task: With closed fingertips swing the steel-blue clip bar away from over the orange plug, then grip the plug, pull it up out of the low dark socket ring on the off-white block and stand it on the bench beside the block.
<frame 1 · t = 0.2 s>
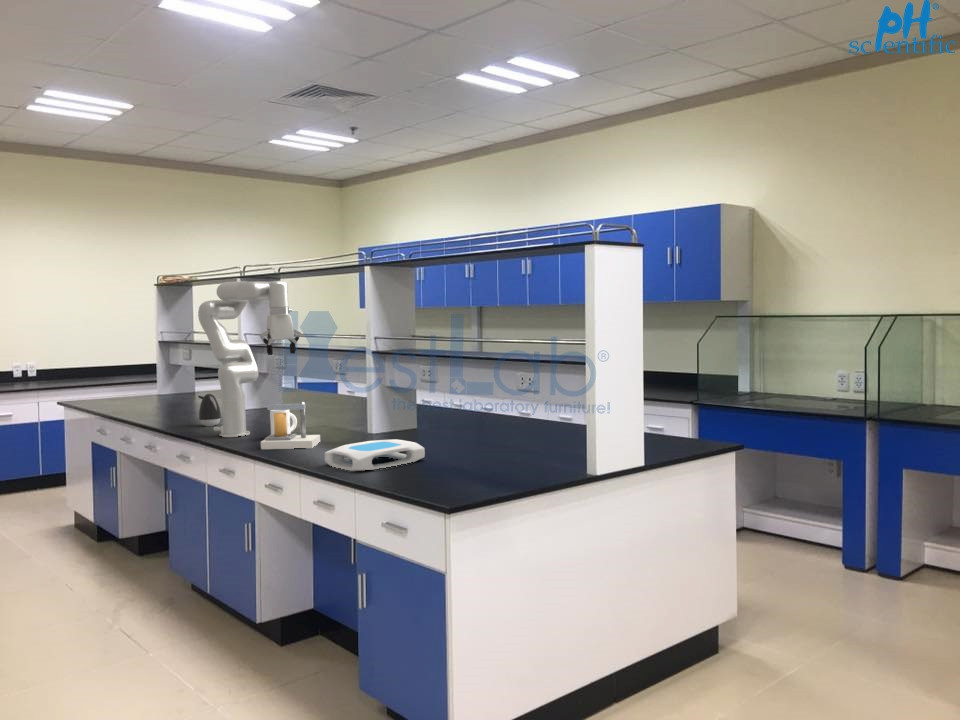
hand: (281, 354, 318), 36 cm above the counter, tool pointing down, fingers open, 9 cm apart
plug: (280, 438, 311), point 3 cm above the counter, touching socket block
pump dispenser: (210, 426, 372), on the counter
clip: (287, 419, 310), point 10 cm above the counter, hinge at 0.0°
mug: (285, 437, 332), on the counter
socket block: (291, 445, 311), on the counter
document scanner: (375, 464, 272), on the counter
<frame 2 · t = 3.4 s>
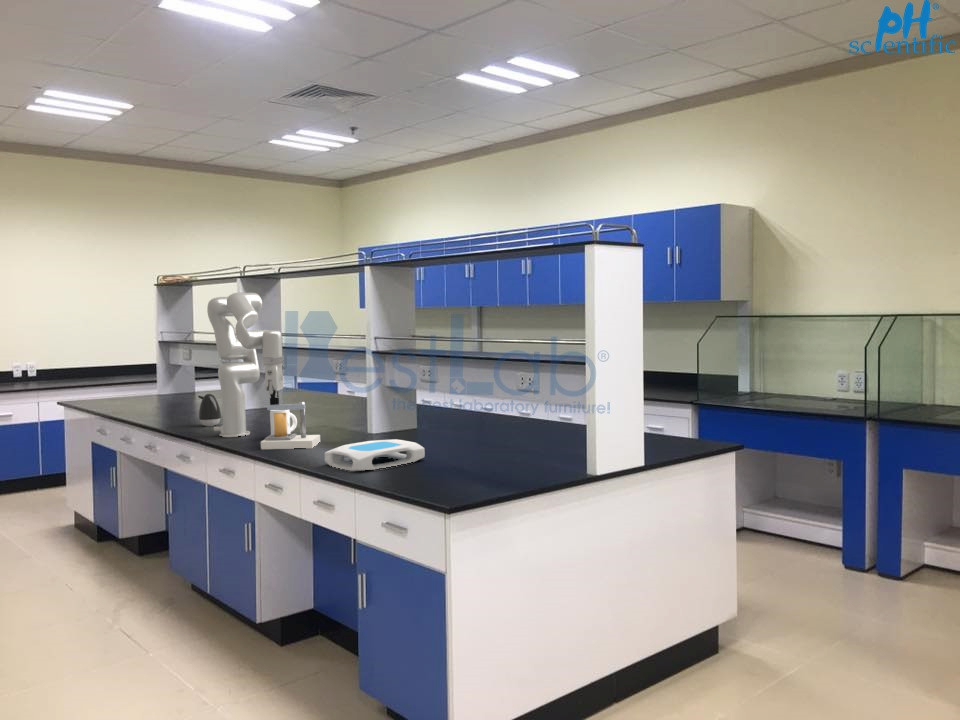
hand: (274, 407, 312), 15 cm above the counter, tool pointing down, fingers closed
clip: (287, 420, 310), point 10 cm above the counter, hinge at 1.9°, touching gripper
everything else where it was.
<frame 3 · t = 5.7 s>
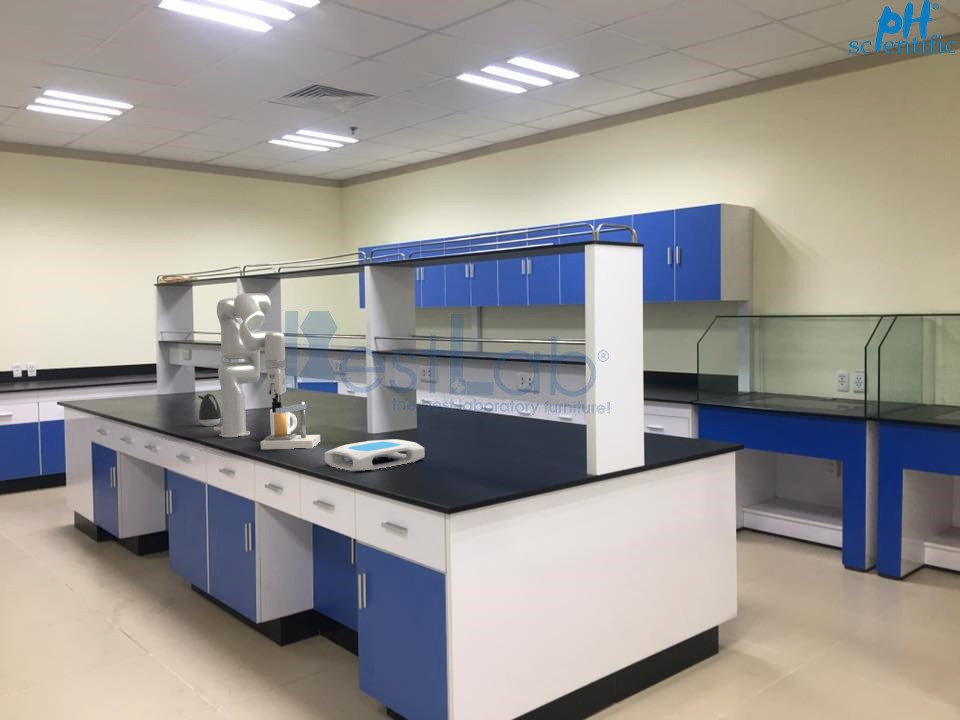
hand: (276, 412, 302), 15 cm above the counter, tool pointing down, fingers closed
clip: (291, 421, 305), point 10 cm above the counter, hinge at 62.1°, touching gripper
everything else where it was.
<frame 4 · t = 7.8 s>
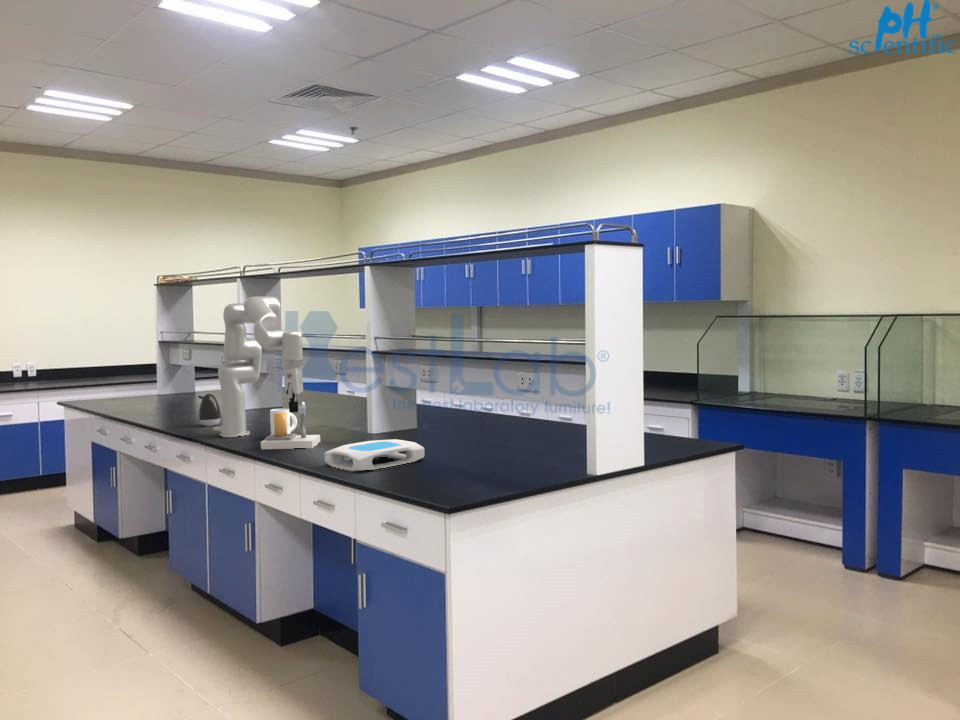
hand: (293, 411, 299), 15 cm above the counter, tool pointing down, fingers closed
clip: (302, 421, 304), point 10 cm above the counter, hinge at 102.5°
everything else where it was.
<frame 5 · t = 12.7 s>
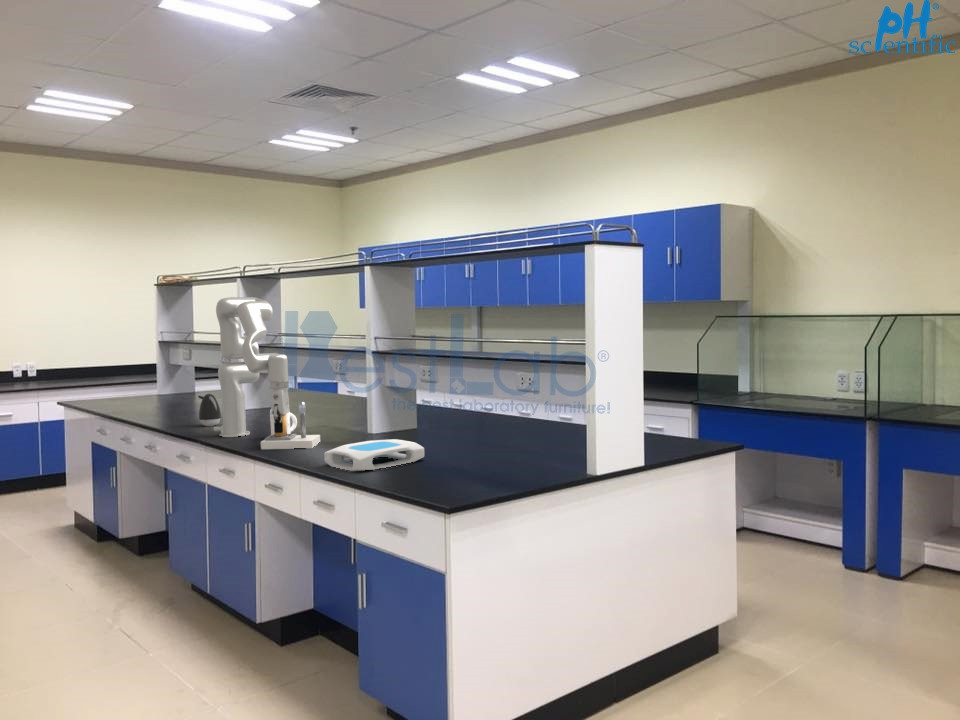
hand: (280, 431, 310), 6 cm above the counter, tool pointing down, fingers closed on plug, 4 cm apart
plug: (280, 438, 311), point 3 cm above the counter, touching gripper, socket block
clip: (302, 421, 304), point 10 cm above the counter, hinge at 103.4°
everything else where it was.
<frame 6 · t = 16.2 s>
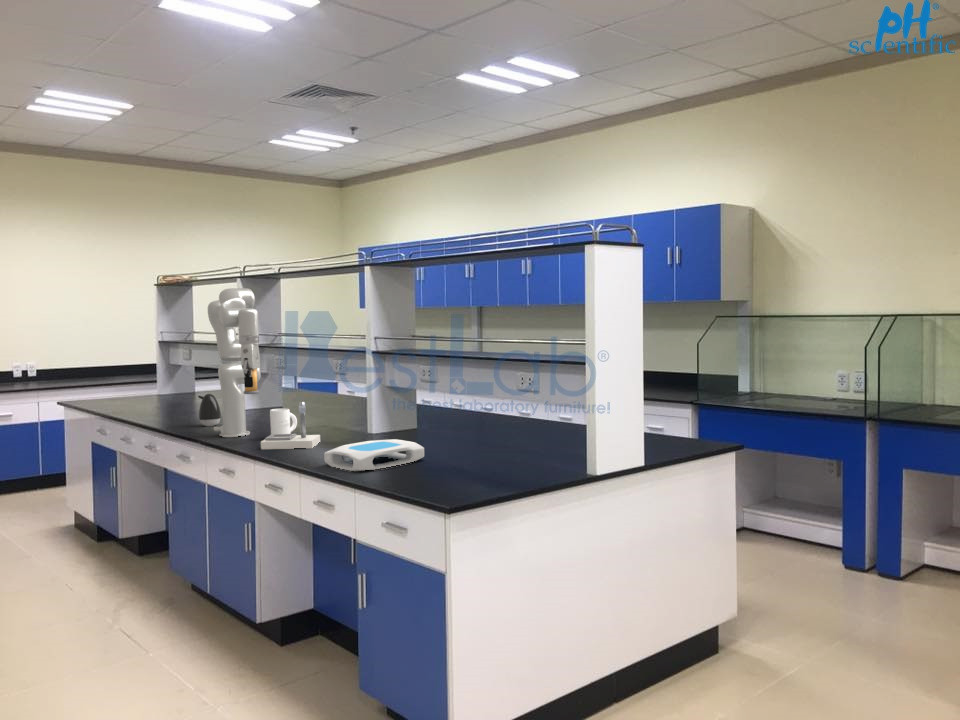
hand: (251, 386, 309), 24 cm above the counter, tool pointing down, fingers closed on plug, 4 cm apart
plug: (251, 393, 310), point 21 cm above the counter, touching gripper
everything else where it was.
when the fingers open (4 cm above the counter, at t = 20.2 s): plug drops 1 cm, on the counter.
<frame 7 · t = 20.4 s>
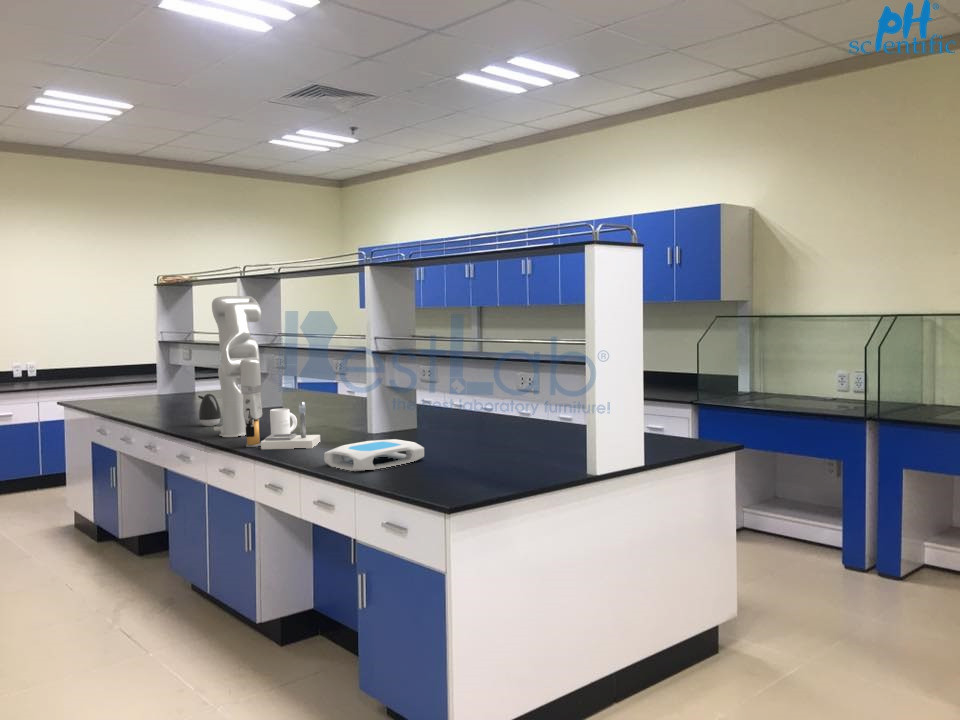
hand: (253, 434, 311), 5 cm above the counter, tool pointing down, fingers open, 6 cm apart
plug: (253, 446, 311), on the counter
everything else where it was.
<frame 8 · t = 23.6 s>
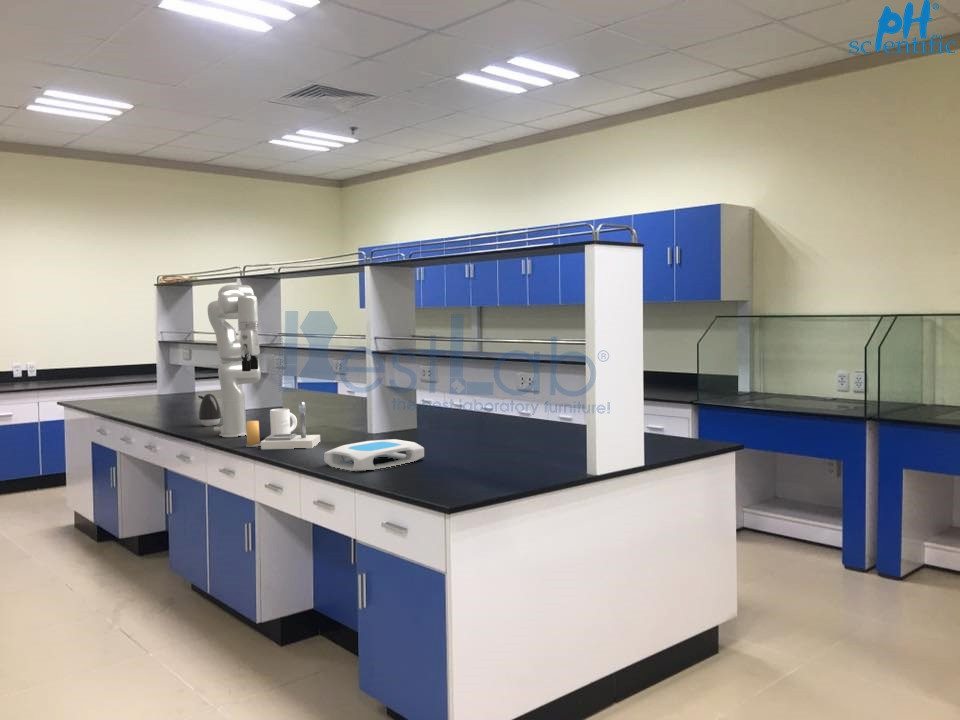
hand: (250, 370, 309), 30 cm above the counter, tool pointing down, fingers open, 9 cm apart
nothing on the counter moved.
at the end: clip at +103° (first picture: +0°); plug inside the target area (0.5 cm from its centre), on the counter; plug tilted 0° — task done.
